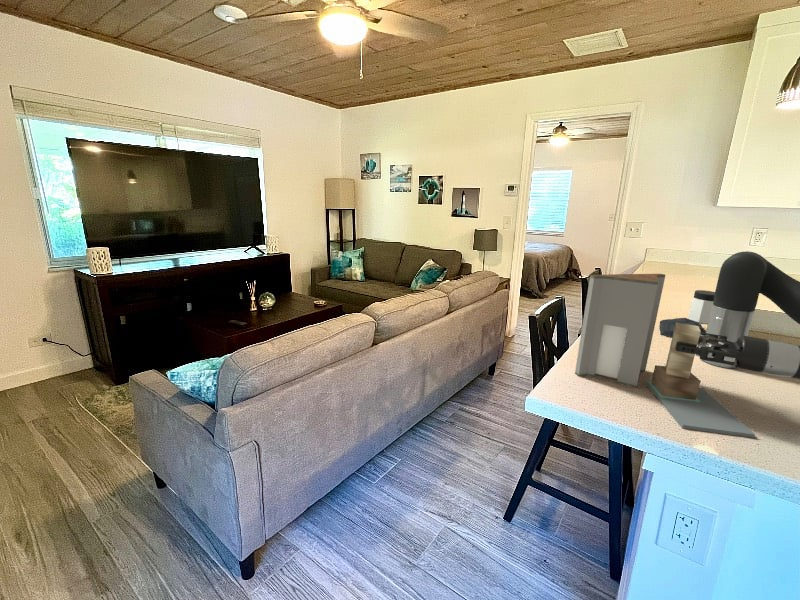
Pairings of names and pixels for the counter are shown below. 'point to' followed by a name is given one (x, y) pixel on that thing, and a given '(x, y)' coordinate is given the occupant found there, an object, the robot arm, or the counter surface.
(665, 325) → the dark slate chunk
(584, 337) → the cabinet
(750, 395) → the counter surface
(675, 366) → the pillar
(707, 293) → the jar
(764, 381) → the counter surface
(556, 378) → the counter surface
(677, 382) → the base block
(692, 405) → the mat
